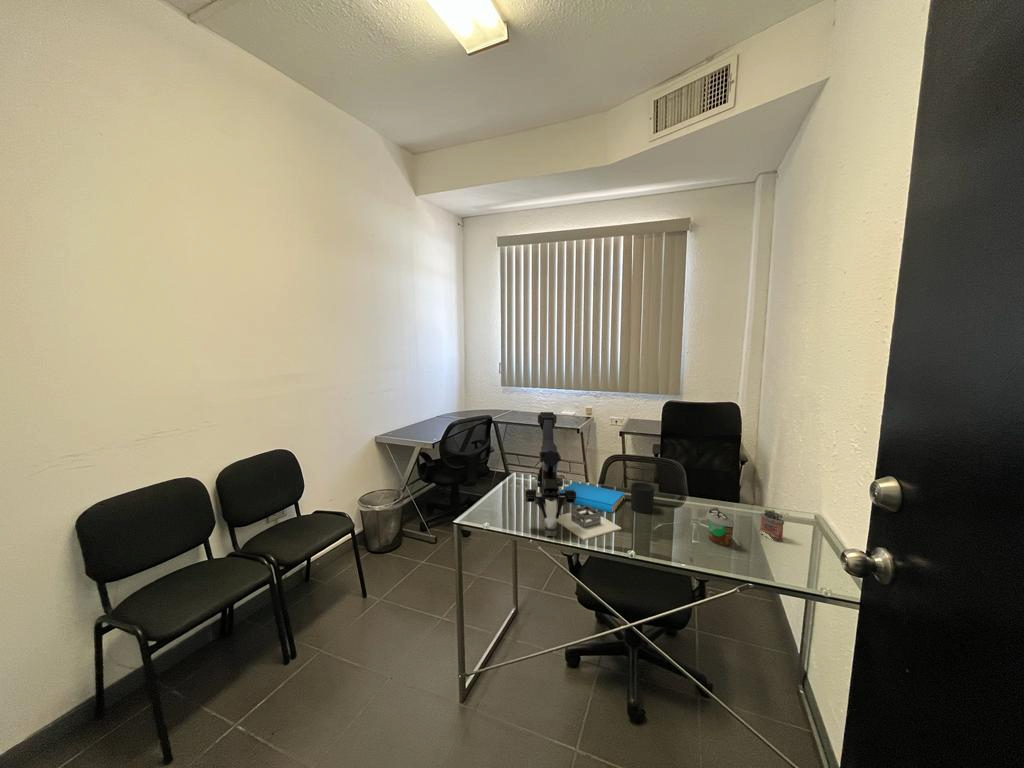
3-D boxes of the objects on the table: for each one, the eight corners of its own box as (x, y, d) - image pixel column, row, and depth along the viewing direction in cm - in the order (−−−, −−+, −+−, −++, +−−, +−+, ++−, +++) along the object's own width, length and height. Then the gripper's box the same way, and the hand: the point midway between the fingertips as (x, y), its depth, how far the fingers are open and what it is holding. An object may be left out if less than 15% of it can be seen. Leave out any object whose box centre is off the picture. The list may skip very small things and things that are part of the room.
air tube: (542, 532, 148) (542, 498, 147) (552, 530, 150) (552, 496, 149) (548, 538, 144) (549, 503, 143) (559, 535, 146) (560, 501, 145)
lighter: (757, 533, 149) (758, 507, 148) (763, 531, 150) (764, 506, 149) (778, 543, 141) (780, 516, 140) (784, 541, 143) (787, 514, 142)
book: (573, 481, 193) (625, 491, 180) (573, 490, 194) (624, 500, 180) (557, 492, 179) (612, 504, 165) (557, 502, 179) (612, 514, 166)
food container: (699, 532, 150) (700, 506, 149) (715, 532, 149) (717, 506, 148) (714, 548, 137) (716, 520, 136) (732, 549, 137) (734, 521, 136)
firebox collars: (571, 520, 157) (571, 509, 157) (587, 516, 161) (587, 505, 161) (584, 528, 150) (584, 516, 150) (600, 524, 154) (600, 512, 154)
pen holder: (658, 510, 169) (659, 487, 168) (643, 515, 164) (644, 492, 163) (639, 503, 177) (640, 481, 176) (625, 507, 171) (626, 485, 170)
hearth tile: (552, 518, 160) (552, 517, 160) (587, 509, 169) (587, 508, 169) (583, 540, 143) (583, 538, 143) (621, 529, 151) (621, 527, 151)
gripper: (525, 468, 149) (525, 509, 139) (576, 469, 148) (579, 510, 138) (525, 481, 157) (525, 521, 148) (573, 482, 157) (576, 522, 147)
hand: (551, 518), depth 145 cm, fingers closed on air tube, 4 cm apart
